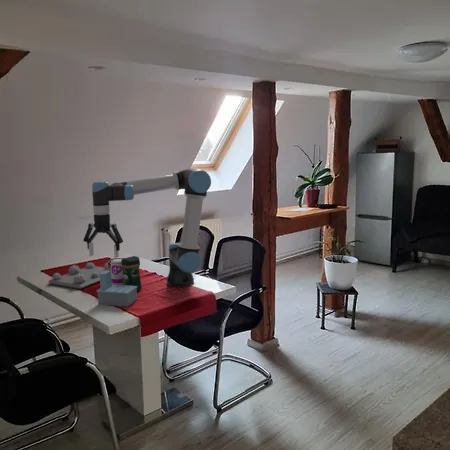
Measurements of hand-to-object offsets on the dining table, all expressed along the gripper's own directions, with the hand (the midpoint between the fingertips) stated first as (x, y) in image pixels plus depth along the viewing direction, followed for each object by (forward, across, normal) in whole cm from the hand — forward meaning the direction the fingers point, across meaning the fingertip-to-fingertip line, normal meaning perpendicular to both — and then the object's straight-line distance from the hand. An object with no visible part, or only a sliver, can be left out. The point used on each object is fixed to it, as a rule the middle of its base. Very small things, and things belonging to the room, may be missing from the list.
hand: (103, 256), depth 222 cm
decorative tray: (+24, +31, -32) cm, 51 cm away
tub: (+23, -6, 0) cm, 24 cm away
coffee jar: (+23, -5, -18) cm, 30 cm away
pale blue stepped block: (+17, -6, 0) cm, 18 cm away
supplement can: (+23, +5, -23) cm, 33 cm away
